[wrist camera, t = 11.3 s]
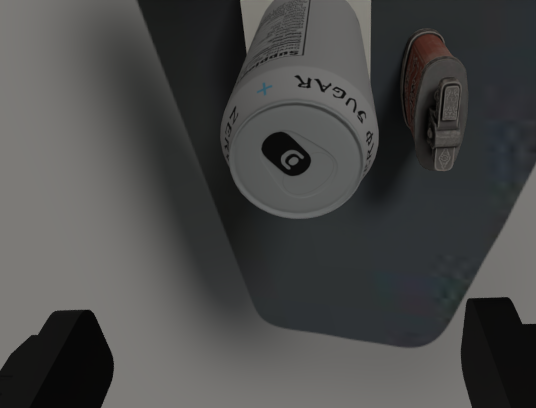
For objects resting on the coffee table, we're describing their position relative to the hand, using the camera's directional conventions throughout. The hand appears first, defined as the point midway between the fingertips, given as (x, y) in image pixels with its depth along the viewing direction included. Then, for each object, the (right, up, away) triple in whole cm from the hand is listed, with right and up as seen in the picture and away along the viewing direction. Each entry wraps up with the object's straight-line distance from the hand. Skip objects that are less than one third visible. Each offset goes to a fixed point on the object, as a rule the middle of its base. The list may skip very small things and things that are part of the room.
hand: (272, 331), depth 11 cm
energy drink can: (+2, +13, +19) cm, 23 cm away
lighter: (+12, +13, +29) cm, 34 cm away
